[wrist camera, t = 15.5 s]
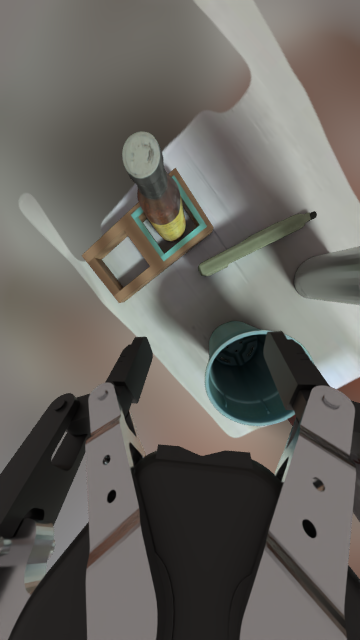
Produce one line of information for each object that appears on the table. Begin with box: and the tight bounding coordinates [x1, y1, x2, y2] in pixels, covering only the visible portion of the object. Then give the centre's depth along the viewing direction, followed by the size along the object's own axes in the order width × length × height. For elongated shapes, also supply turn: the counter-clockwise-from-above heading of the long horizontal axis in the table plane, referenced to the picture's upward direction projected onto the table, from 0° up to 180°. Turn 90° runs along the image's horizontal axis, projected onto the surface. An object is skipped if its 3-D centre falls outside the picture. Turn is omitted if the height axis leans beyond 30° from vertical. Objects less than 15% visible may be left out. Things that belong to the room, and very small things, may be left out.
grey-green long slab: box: [198, 211, 317, 276], centre depth 31 cm, size 7×3×25 cm
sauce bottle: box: [122, 132, 186, 242], centre depth 25 cm, size 7×6×20 cm
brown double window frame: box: [82, 168, 213, 303], centre depth 34 cm, size 26×13×3 cm, turn 126°
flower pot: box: [205, 321, 314, 426], centre depth 32 cm, size 16×16×16 cm
